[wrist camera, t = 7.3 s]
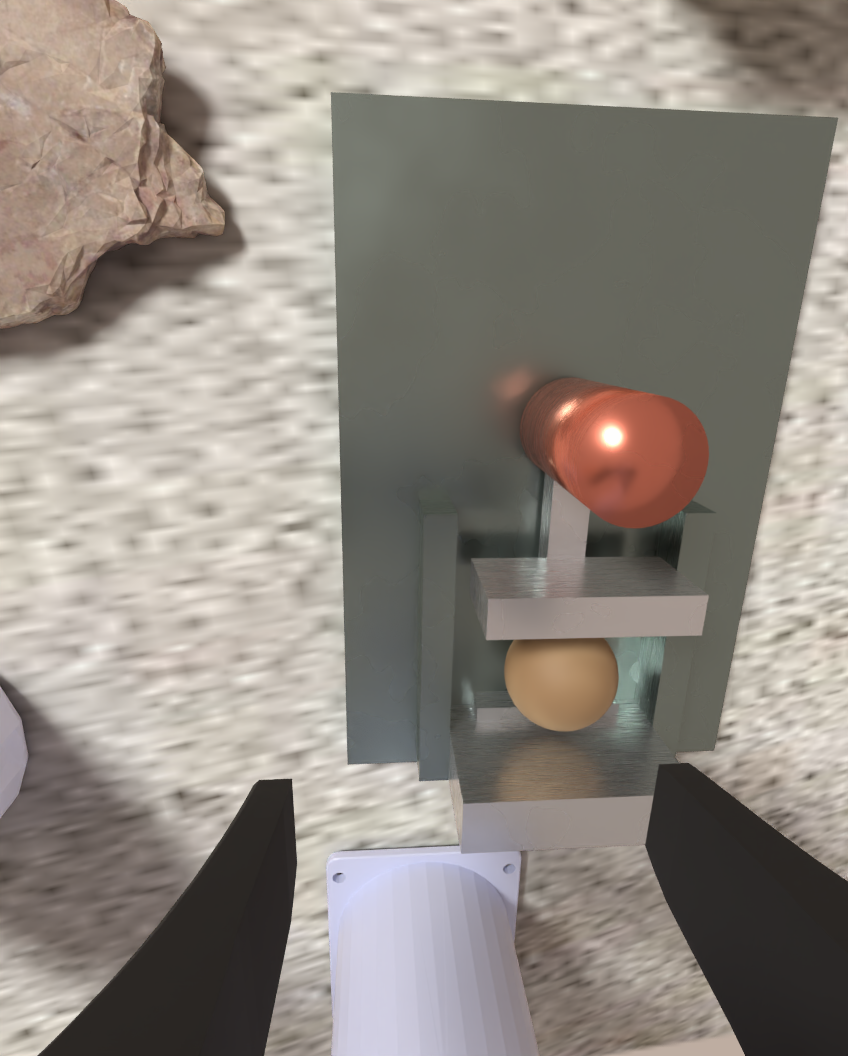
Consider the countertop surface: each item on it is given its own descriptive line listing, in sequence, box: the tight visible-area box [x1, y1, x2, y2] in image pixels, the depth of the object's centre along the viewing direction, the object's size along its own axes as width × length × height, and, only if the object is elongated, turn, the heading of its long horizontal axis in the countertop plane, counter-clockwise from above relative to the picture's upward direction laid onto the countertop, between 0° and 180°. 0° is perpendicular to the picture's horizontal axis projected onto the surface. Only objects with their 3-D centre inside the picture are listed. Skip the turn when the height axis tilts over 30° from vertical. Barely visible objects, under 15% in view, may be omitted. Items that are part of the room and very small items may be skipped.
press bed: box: [331, 92, 838, 854], centre depth 18 cm, size 21×14×6 cm, turn 179°
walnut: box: [504, 638, 619, 732], centre depth 20 cm, size 4×4×4 cm
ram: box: [469, 377, 709, 640], centre depth 17 cm, size 7×6×6 cm
